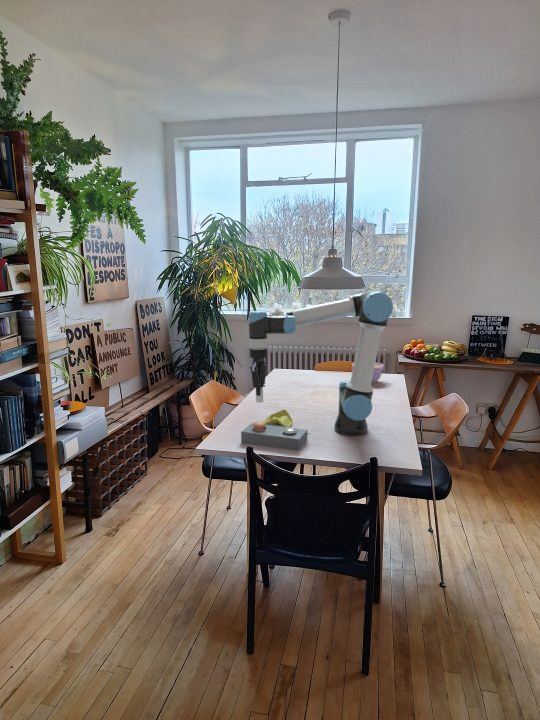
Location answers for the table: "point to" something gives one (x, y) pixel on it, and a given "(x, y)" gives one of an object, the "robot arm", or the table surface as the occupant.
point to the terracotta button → (259, 426)
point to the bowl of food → (376, 371)
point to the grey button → (289, 431)
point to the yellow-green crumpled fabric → (279, 419)
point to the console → (274, 437)
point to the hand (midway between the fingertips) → (259, 401)
